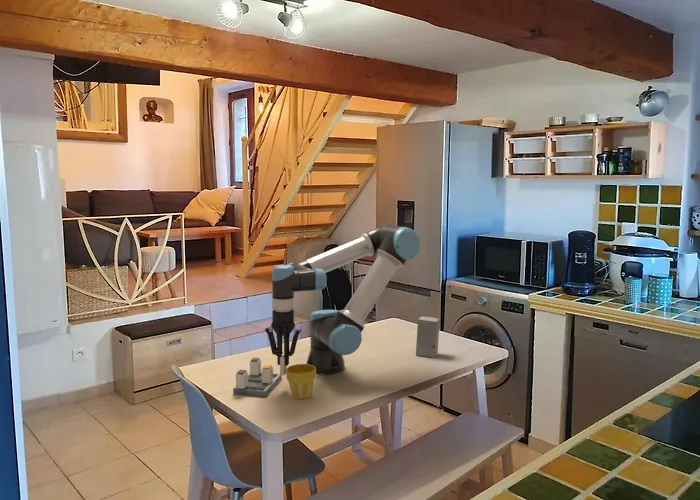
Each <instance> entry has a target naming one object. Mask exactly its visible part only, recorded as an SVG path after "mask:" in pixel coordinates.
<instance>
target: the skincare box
mask: <svg viewBox="0 0 700 500" xmlns="http://www.w3.org/2000/svg"><path fill="white" fill-rule="evenodd" d="M440 321H441V319H440V318H437V317H432V316H423V315H422V316H420V317H419V318H417V330H416V342H415V343H416V346H415V356H417V357H418V356H419V357H426V358H433V359H435V358H436V356H437V355H438V353H439V351H438V350H439V336H440V333H439V332H440Z"/></svg>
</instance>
